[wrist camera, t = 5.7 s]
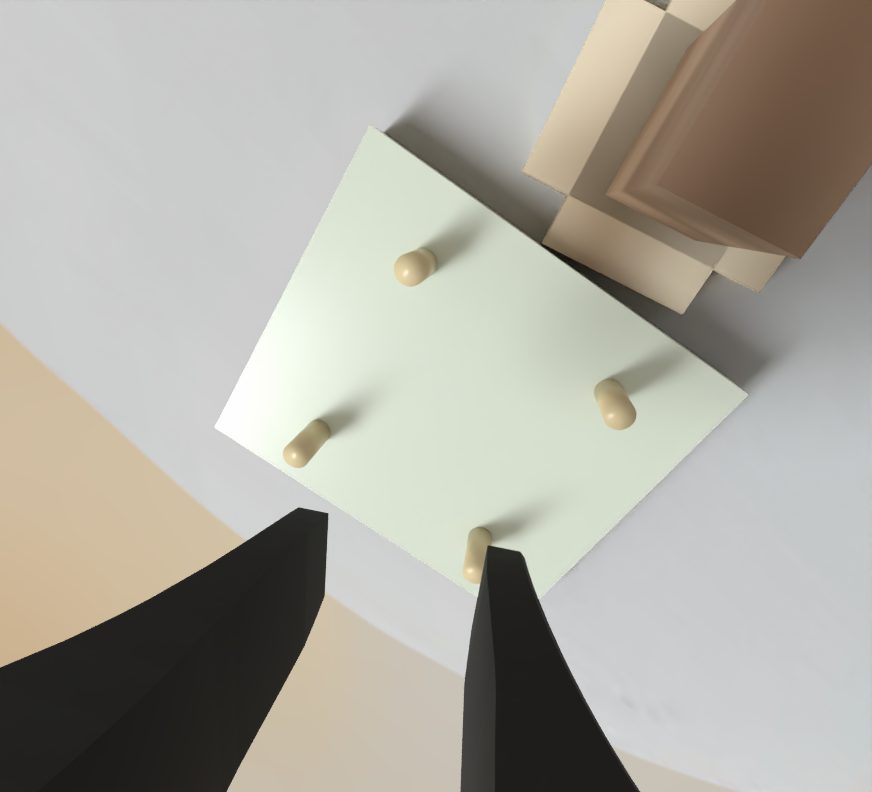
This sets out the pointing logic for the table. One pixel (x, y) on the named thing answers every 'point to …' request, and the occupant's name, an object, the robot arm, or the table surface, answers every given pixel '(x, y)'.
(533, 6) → the table surface
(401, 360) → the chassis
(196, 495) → the table surface
